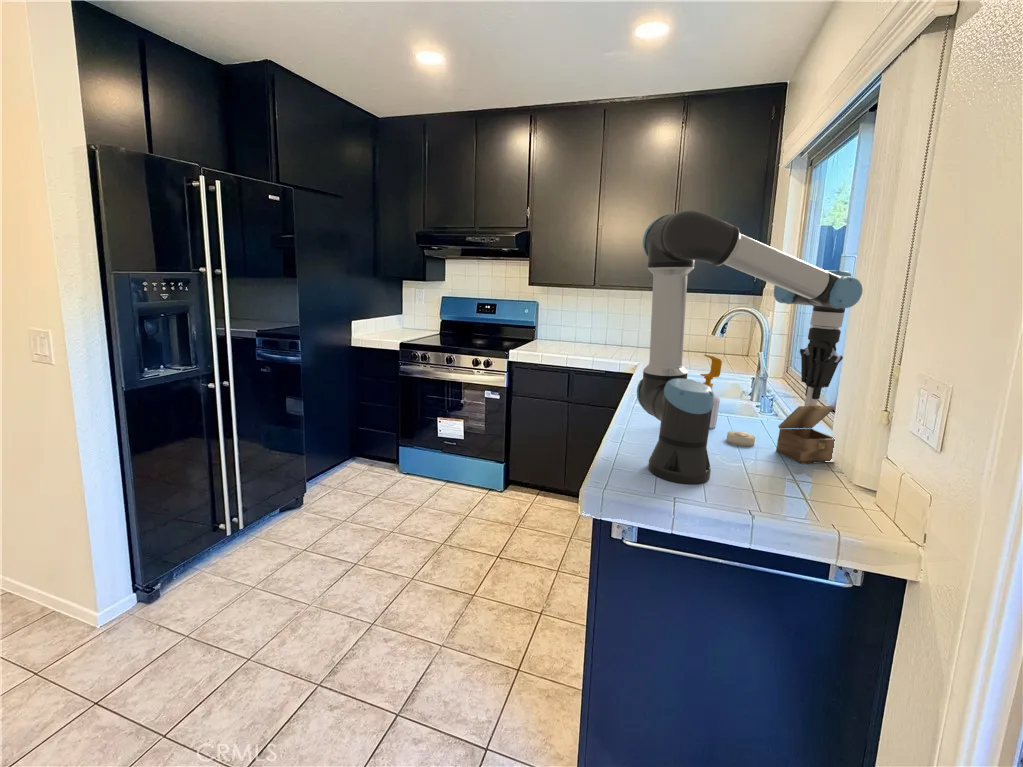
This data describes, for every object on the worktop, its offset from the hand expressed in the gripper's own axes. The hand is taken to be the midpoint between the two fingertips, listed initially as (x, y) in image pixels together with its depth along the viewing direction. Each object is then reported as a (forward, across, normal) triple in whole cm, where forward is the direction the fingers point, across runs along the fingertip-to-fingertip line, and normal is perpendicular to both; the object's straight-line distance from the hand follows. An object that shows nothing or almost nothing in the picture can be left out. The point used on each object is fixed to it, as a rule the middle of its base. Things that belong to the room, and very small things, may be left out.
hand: (809, 408), depth 144 cm
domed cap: (+14, +12, +11) cm, 22 cm away
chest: (+14, -1, 0) cm, 14 cm away
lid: (+3, 0, 0) cm, 3 cm away
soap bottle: (+15, +30, +13) cm, 36 cm away
